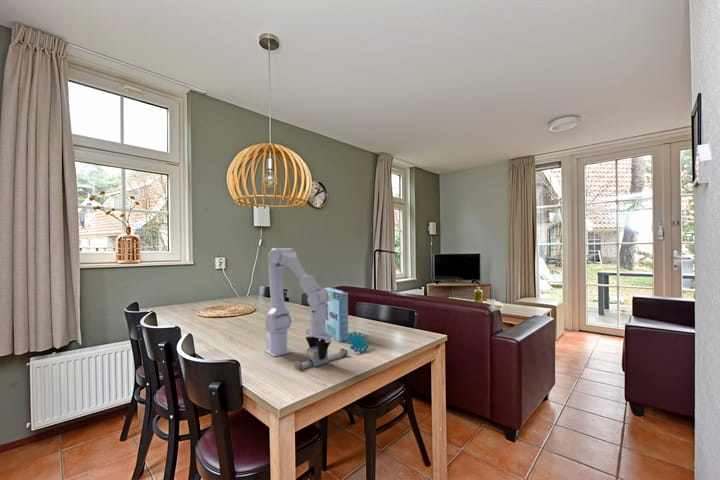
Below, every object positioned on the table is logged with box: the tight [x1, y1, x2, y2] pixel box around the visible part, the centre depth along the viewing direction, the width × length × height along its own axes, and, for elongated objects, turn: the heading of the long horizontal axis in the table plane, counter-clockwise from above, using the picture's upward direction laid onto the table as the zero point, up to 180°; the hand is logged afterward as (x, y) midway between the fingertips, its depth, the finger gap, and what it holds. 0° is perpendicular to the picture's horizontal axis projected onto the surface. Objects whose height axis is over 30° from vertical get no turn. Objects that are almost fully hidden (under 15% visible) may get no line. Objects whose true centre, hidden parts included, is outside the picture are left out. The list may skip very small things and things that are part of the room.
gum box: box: [323, 287, 349, 343], centre depth 157 cm, size 20×5×23 cm, turn 28°
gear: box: [347, 331, 371, 354], centre depth 137 cm, size 11×6×10 cm
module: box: [306, 346, 329, 367], centre depth 121 cm, size 5×6×6 cm
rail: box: [294, 348, 348, 371], centre depth 123 cm, size 3×22×2 cm, turn 131°
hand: (318, 356), depth 121 cm, fingers closed on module, 5 cm apart
